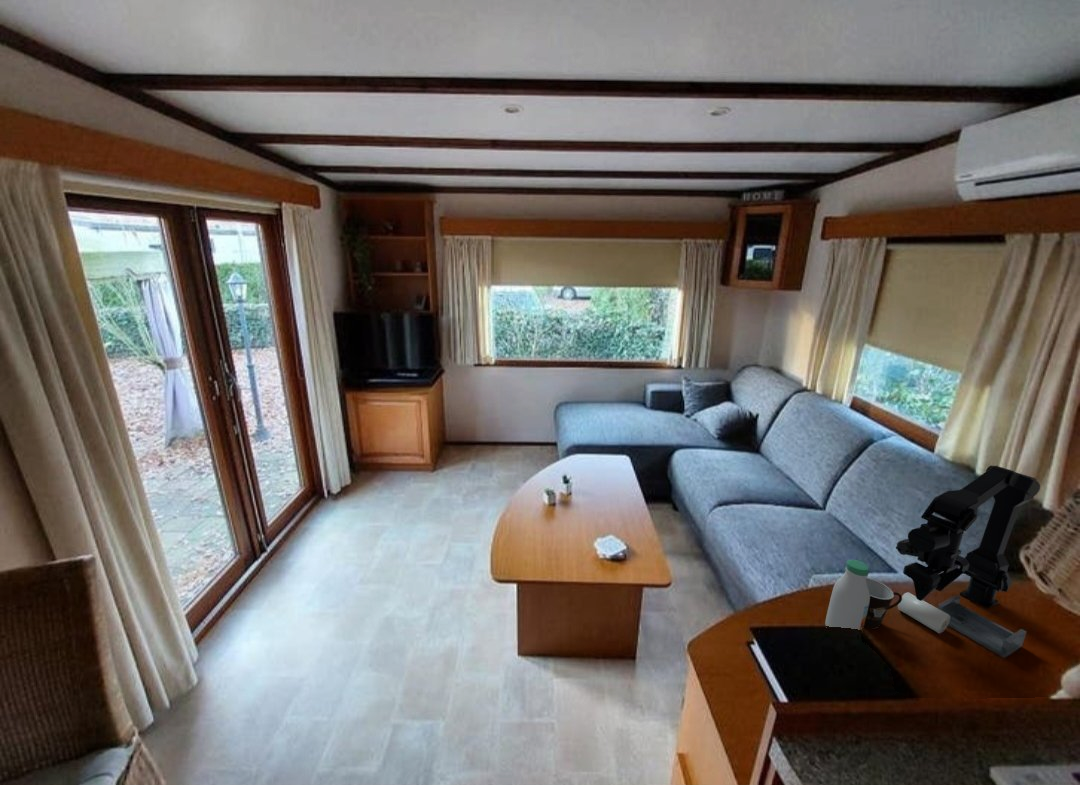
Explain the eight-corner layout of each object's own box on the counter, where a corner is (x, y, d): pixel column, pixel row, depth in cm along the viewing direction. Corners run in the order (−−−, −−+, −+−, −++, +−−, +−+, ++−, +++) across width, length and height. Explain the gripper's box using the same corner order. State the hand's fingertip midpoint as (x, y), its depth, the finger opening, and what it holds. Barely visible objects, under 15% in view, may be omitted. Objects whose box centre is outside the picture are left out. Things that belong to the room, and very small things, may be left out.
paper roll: (895, 611, 119) (900, 595, 118) (906, 606, 121) (911, 589, 120) (936, 636, 111) (941, 618, 109) (947, 630, 113) (952, 612, 112)
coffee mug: (848, 624, 114) (856, 592, 112) (843, 603, 121) (850, 573, 119) (903, 641, 109) (912, 608, 106) (895, 618, 116) (903, 587, 114)
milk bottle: (849, 647, 107) (867, 578, 102) (818, 625, 113) (833, 559, 108) (866, 636, 110) (884, 569, 105) (835, 616, 117) (850, 551, 112)
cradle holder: (951, 608, 121) (956, 595, 119) (1021, 646, 108) (1026, 631, 107) (934, 618, 117) (938, 604, 116) (1004, 658, 105) (1009, 643, 103)
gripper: (925, 520, 121) (912, 568, 125) (887, 534, 113) (874, 585, 117) (977, 541, 111) (961, 592, 115) (939, 558, 104) (923, 613, 108)
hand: (928, 594), depth 114 cm, fingers open, 9 cm apart
